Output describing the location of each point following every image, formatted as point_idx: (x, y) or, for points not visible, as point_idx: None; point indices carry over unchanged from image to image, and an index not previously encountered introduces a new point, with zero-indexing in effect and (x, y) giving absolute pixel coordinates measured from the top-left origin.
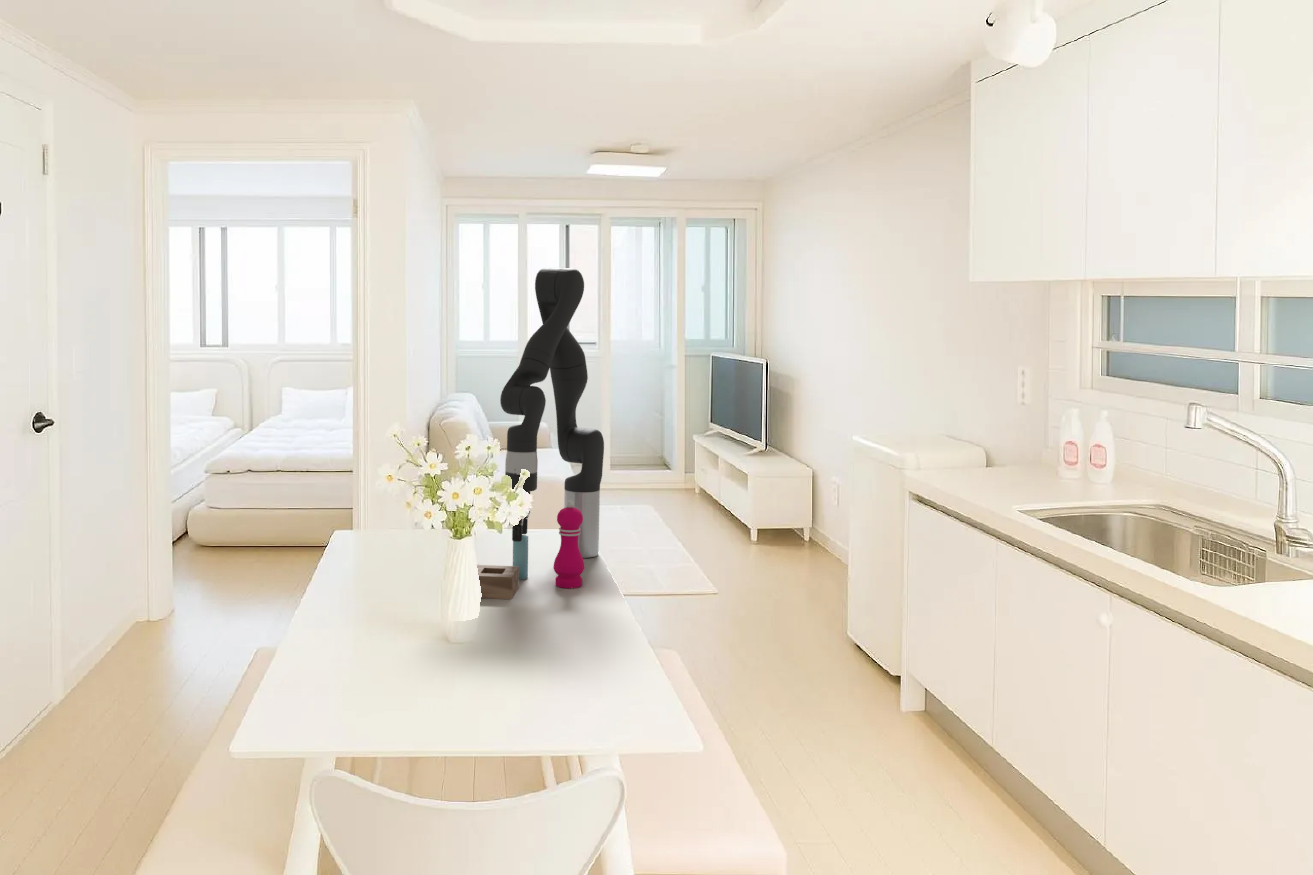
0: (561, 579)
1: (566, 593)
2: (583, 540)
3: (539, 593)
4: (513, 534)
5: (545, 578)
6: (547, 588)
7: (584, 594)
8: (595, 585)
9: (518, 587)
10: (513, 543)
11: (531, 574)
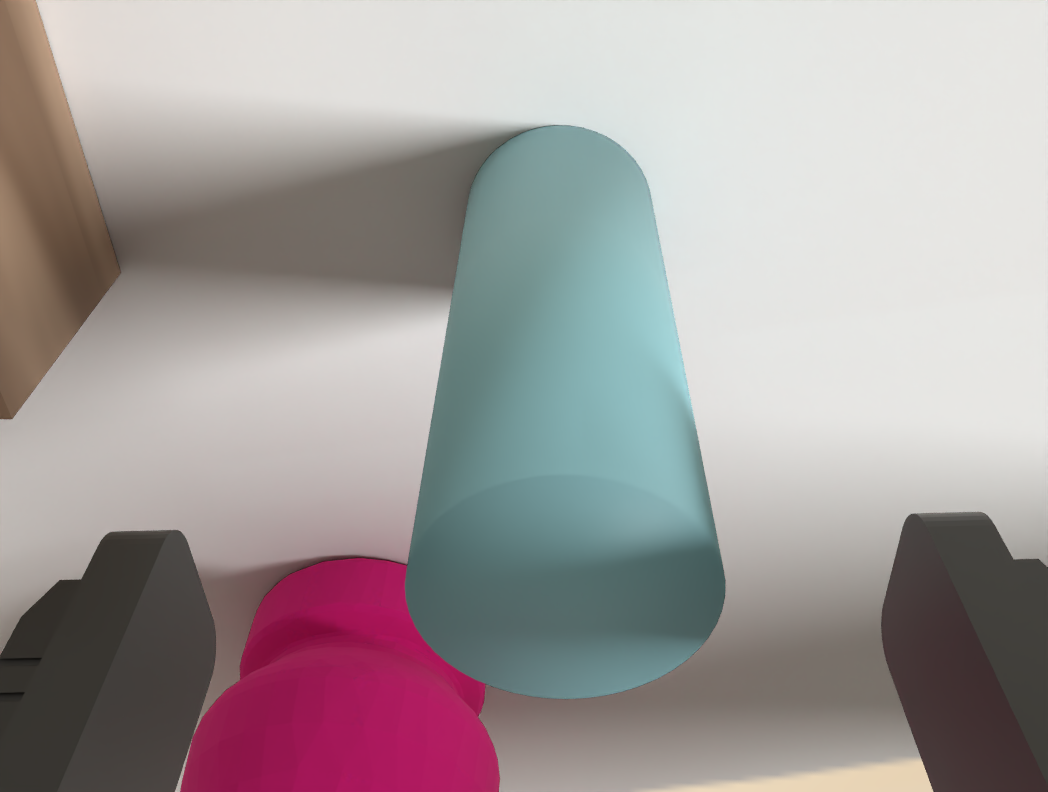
0: (258, 658)
1: None
2: None
3: (3, 478)
4: (66, 648)
5: None
6: (202, 513)
7: None
8: None
9: (115, 273)
10: (486, 406)
11: (730, 308)
